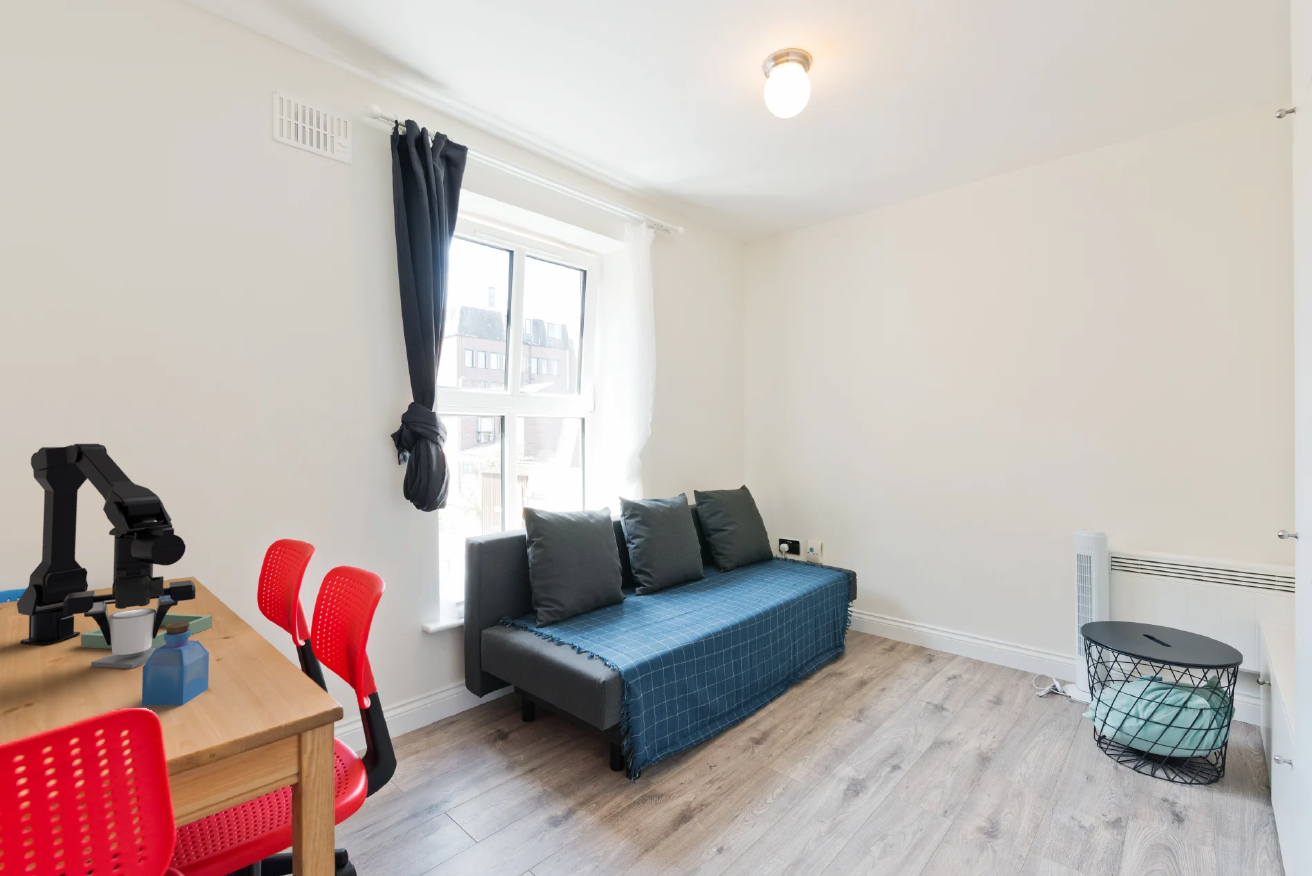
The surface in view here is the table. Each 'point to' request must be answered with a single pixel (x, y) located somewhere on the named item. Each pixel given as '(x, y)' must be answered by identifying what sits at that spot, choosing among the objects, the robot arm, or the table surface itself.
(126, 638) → the white cup
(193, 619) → the green tray
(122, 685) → the table surface
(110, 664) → the slate tile
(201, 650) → the perfume bottle
